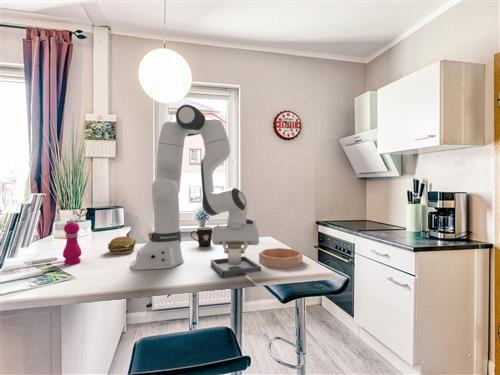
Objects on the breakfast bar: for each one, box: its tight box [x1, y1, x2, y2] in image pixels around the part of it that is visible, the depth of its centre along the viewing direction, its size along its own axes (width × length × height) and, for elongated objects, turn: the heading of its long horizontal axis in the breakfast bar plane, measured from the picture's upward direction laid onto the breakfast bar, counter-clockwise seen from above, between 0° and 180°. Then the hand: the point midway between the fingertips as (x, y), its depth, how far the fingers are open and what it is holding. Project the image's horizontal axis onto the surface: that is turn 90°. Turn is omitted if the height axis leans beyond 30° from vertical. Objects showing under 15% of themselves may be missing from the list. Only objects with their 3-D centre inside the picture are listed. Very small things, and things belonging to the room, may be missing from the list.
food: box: [107, 236, 137, 255], centre depth 153 cm, size 14×14×8 cm
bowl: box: [258, 247, 303, 269], centre depth 129 cm, size 18×18×5 cm
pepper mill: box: [62, 218, 82, 266], centre depth 133 cm, size 7×7×20 cm
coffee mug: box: [189, 226, 213, 248], centre depth 167 cm, size 12×9×10 cm
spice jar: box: [226, 243, 242, 265], centre depth 122 cm, size 6×6×8 cm
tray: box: [210, 255, 262, 279], centre depth 122 cm, size 16×18×2 cm
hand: (234, 252), depth 122 cm, fingers closed on spice jar, 5 cm apart
